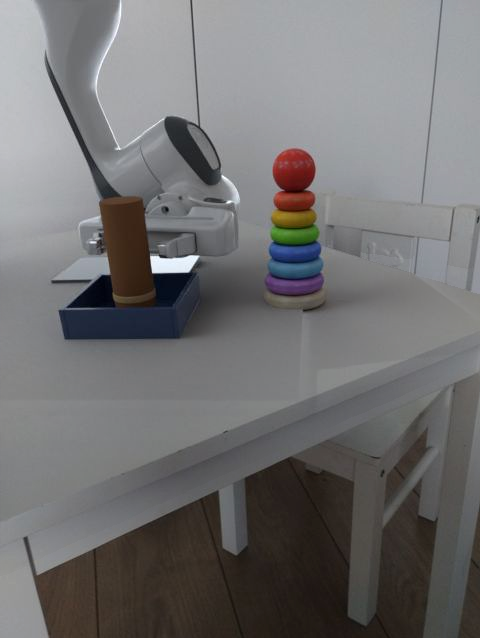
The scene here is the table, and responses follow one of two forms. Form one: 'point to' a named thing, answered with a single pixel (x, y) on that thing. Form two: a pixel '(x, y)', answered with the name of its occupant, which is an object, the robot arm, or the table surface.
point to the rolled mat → (128, 251)
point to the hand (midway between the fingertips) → (127, 250)
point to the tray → (131, 310)
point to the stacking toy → (294, 237)
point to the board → (92, 267)
